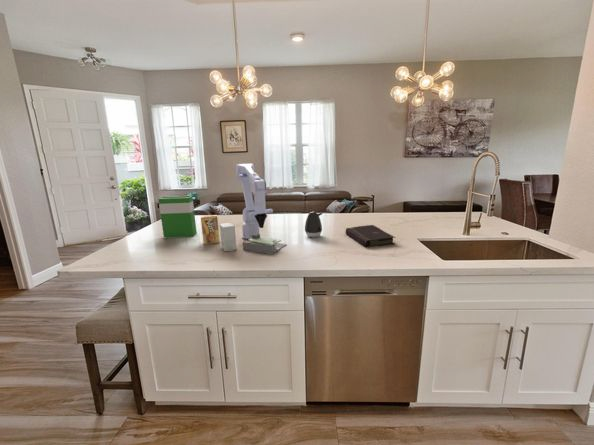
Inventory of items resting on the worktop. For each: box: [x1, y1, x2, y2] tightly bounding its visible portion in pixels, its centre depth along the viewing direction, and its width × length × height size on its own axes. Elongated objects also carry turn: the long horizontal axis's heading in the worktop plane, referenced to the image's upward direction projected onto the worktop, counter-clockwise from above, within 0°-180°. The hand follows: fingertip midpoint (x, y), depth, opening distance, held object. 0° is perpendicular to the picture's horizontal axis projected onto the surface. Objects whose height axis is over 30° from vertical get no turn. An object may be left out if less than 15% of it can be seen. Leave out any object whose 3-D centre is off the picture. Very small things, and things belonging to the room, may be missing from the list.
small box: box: [219, 222, 237, 252], centre depth 154 cm, size 8×6×13 cm
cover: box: [247, 233, 282, 245], centre depth 152 cm, size 16×8×3 cm, turn 58°
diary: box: [345, 224, 397, 249], centre depth 164 cm, size 19×25×5 cm
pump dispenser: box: [304, 210, 323, 238], centre depth 171 cm, size 10×10×15 cm
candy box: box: [200, 214, 221, 245], centre depth 164 cm, size 9×4×15 cm, turn 110°
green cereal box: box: [157, 195, 198, 238], centre depth 178 cm, size 18×7×24 cm, turn 94°
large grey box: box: [242, 241, 287, 255], centre depth 155 cm, size 18×15×4 cm
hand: (261, 227), depth 157 cm, fingers closed
